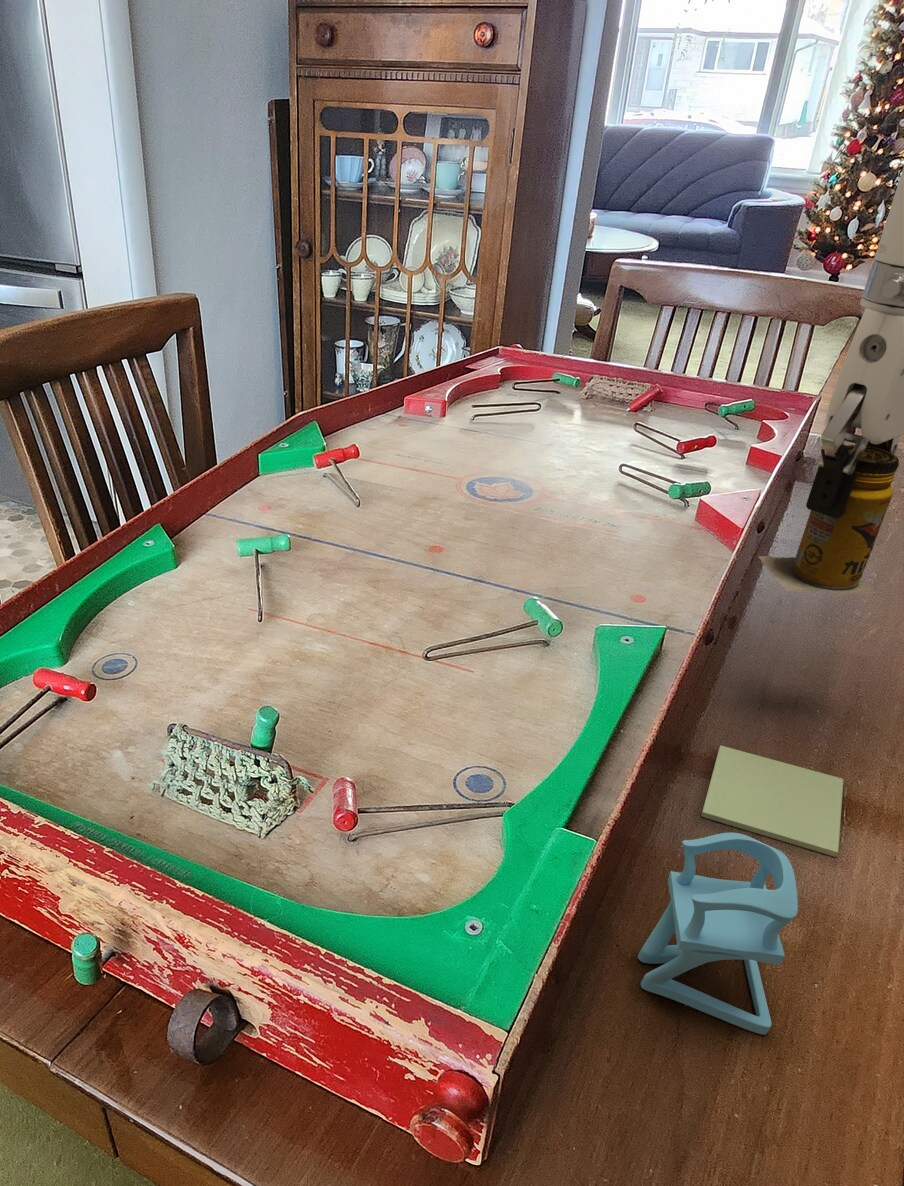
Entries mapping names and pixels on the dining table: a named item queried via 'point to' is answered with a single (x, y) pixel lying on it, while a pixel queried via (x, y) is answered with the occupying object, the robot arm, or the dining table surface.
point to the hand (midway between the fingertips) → (841, 502)
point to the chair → (722, 927)
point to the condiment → (841, 534)
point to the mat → (775, 800)
